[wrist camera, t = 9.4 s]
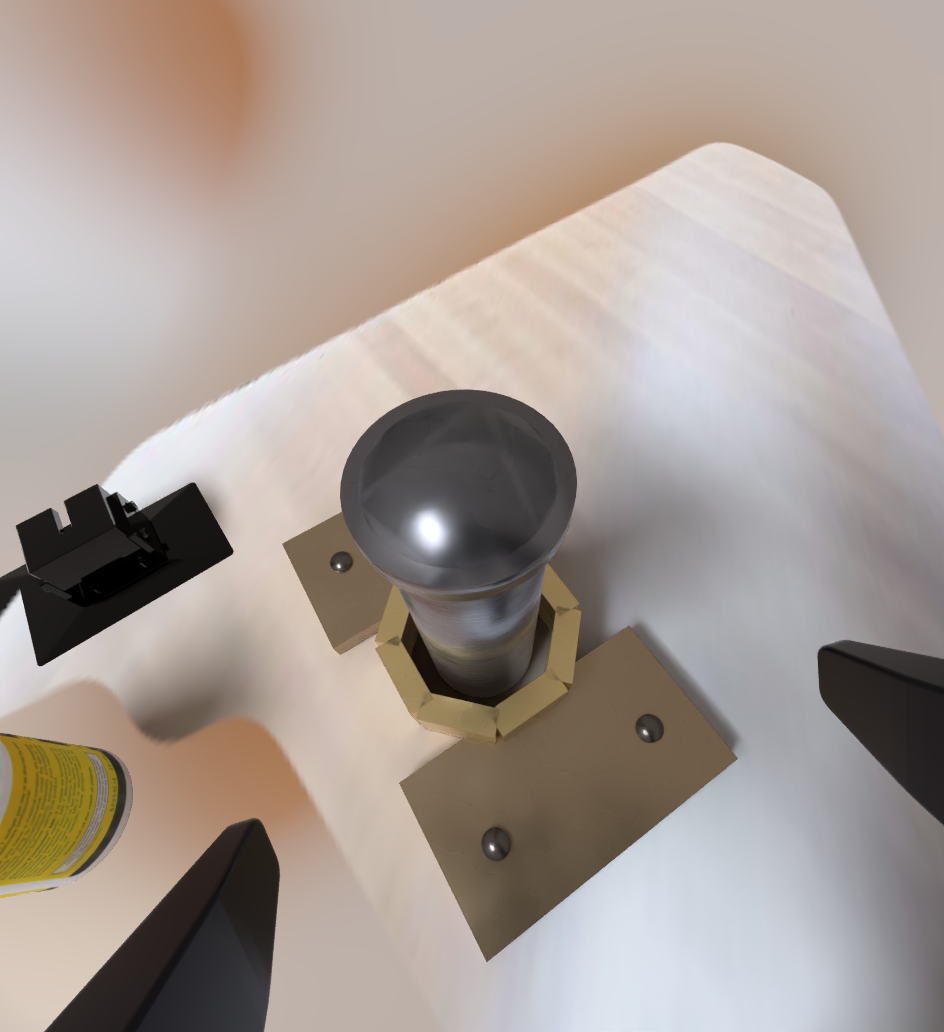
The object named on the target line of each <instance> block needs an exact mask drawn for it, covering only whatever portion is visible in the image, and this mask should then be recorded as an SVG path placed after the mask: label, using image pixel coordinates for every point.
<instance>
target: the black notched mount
mask: <svg viewBox="0 0 944 1032" xmlns="http://www.w3.org/2000/svg"><path fill="white" fill-rule="evenodd" d="M64 504H65V507H66V510H67V513H68V515H69V518H70V522H71V524H70V525H68V526H66V527H64V528H63V526H62V523H61V520H60V517H59V514H58V513H57V512H56V511H55V510H53V509H52V508H49V509H47V510H45V511H44V512H41V513H39V514H37V515H36V516H34V517H32V518H30V519H28V520H26V521H24V522H22V523H20V524H18V525H16V529H17V533H18V537H19V540H20V544H21V548H22V551H23V555H24V558H25V562H26V564H24V565H22V566H20V567H19V568H17V569H15V570H13V571H11V572H9V573H7V574H5V575H4V576H2V577H0V617H1V616H2V615H3V614H4V612H5V611H6V610H7V609H8V607H9V606H10V604H11V603H12V602H13V601H14V599H15V598H16V597H17V596H18V594H19V593H20V591H21V595H22V600H23V604H24V608H25V613H26V617H27V621H28V625H29V630H30V634H31V638H32V643H33V647H34V651H35V656H36V660H37V664H38V666H43V665H45V664H46V663H48V662H50V661H51V660H53V659H55V658H57V657H58V656H60V655H62V654H63V653H65V652H67V651H69V650H70V649H72V648H74V647H75V646H77V645H79V644H80V643H82V642H84V641H86V640H87V639H89V638H91V637H92V636H94V635H96V634H98V633H99V632H101V631H103V630H104V629H106V628H108V627H110V626H111V625H113V624H115V623H116V622H118V621H120V620H121V619H123V618H125V617H127V616H128V615H130V614H132V613H133V612H135V611H137V610H139V609H140V608H142V607H144V606H145V605H147V604H149V603H150V602H152V601H154V600H156V599H157V598H159V597H161V596H162V595H164V594H166V593H168V592H169V591H171V590H173V589H174V588H176V587H178V586H179V585H181V584H183V583H185V582H186V581H188V580H190V579H191V578H193V577H195V576H197V575H198V574H200V573H202V572H203V571H205V570H207V569H208V568H210V567H212V566H214V565H215V564H217V563H219V562H220V561H222V560H224V559H226V558H227V557H229V556H231V555H232V554H233V552H234V551H233V549H232V547H231V545H230V543H229V542H228V540H227V538H226V536H225V535H224V533H223V531H222V529H221V528H220V526H219V524H218V522H217V521H216V519H215V517H214V515H213V514H212V512H211V510H210V508H209V507H208V505H207V503H206V501H205V500H204V498H203V496H202V494H201V493H200V491H199V489H198V487H197V485H196V484H195V483H190V484H188V485H186V486H184V487H183V488H181V489H179V490H177V491H175V492H173V493H172V494H170V495H168V496H166V497H164V498H162V499H161V500H159V501H157V502H155V503H153V504H151V505H149V506H148V507H146V508H144V509H142V510H140V511H139V510H138V507H137V505H136V504H135V503H134V502H133V501H130V502H128V501H127V500H126V499H125V498H124V497H122V496H121V495H120V494H119V493H118V492H115V493H114V494H112V495H110V494H109V493H108V492H107V491H105V490H104V489H103V488H102V487H100V486H99V485H98V484H96V485H94V486H92V487H90V488H88V489H86V490H84V491H82V492H80V493H78V494H76V495H74V496H72V497H70V498H69V499H67V500H65V501H64Z"/></svg>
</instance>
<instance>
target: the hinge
mask: <svg viewBox="0 0 944 1032" xmlns="http://www.w3.org/2000/svg"><path fill="white" fill-rule="evenodd" d="M282 545H283V547H284V549H285V551H286V553H287V555H288V557H289V559H290V561H291V563H292V565H293V567H294V569H295V571H296V573H297V575H298V577H299V579H300V581H301V583H302V585H303V587H304V590H305V592H306V594H307V596H308V598H309V600H310V602H311V604H312V606H313V608H314V610H315V612H316V614H317V616H318V618H319V620H320V622H321V624H322V626H323V628H324V630H325V632H326V634H327V637H328V639H329V641H330V643H331V645H332V647H333V649H334V650H335V651H337V652H338V653H339V654H342V653H344V652H345V651H347V650H349V649H350V648H352V647H354V646H355V645H357V644H359V643H360V642H362V641H364V640H365V639H367V638H369V637H370V636H372V635H374V634H375V633H377V632H378V633H377V636H376V639H375V642H376V643H377V645H378V646H379V647H377V648H375V649H376V651H377V653H378V655H379V657H380V658H381V660H382V662H383V664H384V666H385V668H386V670H387V672H388V673H389V675H390V677H391V679H392V681H393V683H394V685H395V687H396V688H397V690H398V692H399V694H400V696H401V698H402V700H403V702H404V703H405V705H406V707H407V709H408V711H409V713H410V715H411V716H412V717H413V718H414V719H415V720H416V721H417V722H418V723H419V724H422V725H423V726H424V727H425V729H428V730H432V731H436V732H440V733H444V734H448V735H452V736H457V737H461V738H464V739H463V740H461V741H460V742H458V743H457V744H455V745H454V746H452V747H451V748H449V749H448V750H447V751H445V752H444V753H442V754H441V755H439V756H438V757H436V758H435V759H433V760H432V761H430V762H429V763H428V764H426V765H425V766H423V767H422V768H420V769H419V770H417V771H416V772H414V773H413V774H411V775H410V776H409V777H407V778H406V779H404V780H403V781H401V782H400V783H399V784H400V786H401V788H402V790H403V792H404V794H405V796H406V798H407V800H408V802H409V804H410V806H411V808H412V810H413V812H414V814H415V816H416V818H417V821H418V823H419V825H420V827H421V829H422V831H423V833H424V835H425V837H426V839H427V841H428V843H429V845H430V847H431V849H432V851H433V853H434V855H435V857H436V859H437V861H438V863H439V865H440V868H441V870H442V872H443V874H444V876H445V878H446V880H447V882H448V884H449V886H450V888H451V890H452V892H453V894H454V896H455V898H456V900H457V902H458V904H459V906H460V908H461V910H462V912H463V915H464V917H465V919H466V921H467V923H468V925H469V927H470V929H471V931H472V933H473V935H474V937H475V939H476V941H477V943H478V945H479V947H480V949H481V951H482V953H483V955H484V957H485V960H486V962H488V961H489V960H490V959H491V958H492V957H494V956H495V955H496V954H497V953H499V952H500V951H501V950H502V949H504V948H505V947H506V946H507V945H509V944H510V943H511V942H512V941H513V940H515V939H516V938H517V937H518V936H520V935H521V934H522V933H523V932H525V931H526V930H527V929H528V928H530V927H531V926H532V925H533V924H534V923H536V922H537V921H538V920H539V919H541V918H542V917H543V916H544V915H546V914H547V913H548V912H549V911H550V910H552V909H553V908H554V907H555V906H557V905H558V904H559V903H560V902H562V901H563V900H564V899H565V898H567V897H568V896H569V895H570V894H571V893H573V892H574V891H575V890H576V889H578V888H579V887H580V886H581V885H583V884H584V883H585V882H586V881H588V880H589V879H590V878H591V877H592V876H594V875H595V874H596V873H597V872H599V871H600V870H601V869H602V868H604V867H605V866H606V865H607V864H608V863H610V862H611V861H612V860H613V859H615V858H616V857H617V856H618V855H620V854H621V853H622V852H623V851H625V850H626V849H627V848H628V847H629V846H631V845H632V844H633V843H634V842H636V841H637V840H638V839H639V838H641V837H642V836H643V835H644V834H646V833H647V832H648V831H649V830H650V829H652V828H653V827H654V826H655V825H657V824H658V823H659V822H660V821H662V820H663V819H664V818H665V817H666V816H668V815H669V814H670V813H671V812H673V811H674V810H675V809H676V808H678V807H679V806H680V805H681V804H683V803H684V802H685V801H686V800H687V799H689V798H690V797H691V796H692V795H694V794H695V793H696V792H697V791H699V790H700V789H701V788H702V787H704V786H705V785H706V784H707V783H708V782H710V781H711V780H712V779H713V778H715V777H716V776H717V775H718V774H720V773H721V772H722V771H723V770H725V769H726V768H727V767H728V766H729V765H731V764H732V763H733V762H734V761H736V760H737V759H738V758H737V757H736V756H735V754H734V753H733V752H732V751H731V749H730V748H729V747H728V746H727V745H726V743H725V742H724V741H723V740H722V739H721V737H720V736H719V735H718V734H717V732H716V731H715V730H714V729H713V728H712V726H711V725H710V724H709V723H708V721H707V720H706V719H705V718H704V717H703V715H702V714H701V713H700V712H699V711H698V709H697V708H696V707H695V706H694V704H693V703H692V702H691V701H690V700H689V698H688V697H687V696H686V695H685V693H684V692H683V691H682V690H681V689H680V687H679V686H678V685H677V684H676V683H675V681H674V680H673V679H672V678H671V676H670V675H669V674H668V673H667V672H666V670H665V669H664V668H663V667H662V666H661V664H660V663H659V662H658V661H657V659H656V658H655V657H654V656H653V655H652V653H651V652H650V651H649V650H648V648H647V647H646V646H645V645H644V644H643V642H642V641H641V640H640V639H639V638H638V636H637V635H636V634H635V633H634V631H633V630H632V629H631V628H630V627H629V626H628V627H626V628H625V629H623V630H622V631H620V632H619V633H617V634H616V635H614V636H613V637H612V638H610V639H609V640H607V641H606V642H604V643H603V644H601V645H600V646H598V647H597V648H595V649H594V650H593V651H591V652H590V653H588V654H587V655H585V656H584V657H582V658H581V659H579V660H578V661H576V662H575V659H576V651H577V644H578V636H579V628H580V620H581V612H582V611H580V610H578V607H579V604H580V603H579V602H578V601H577V599H576V598H575V597H574V596H573V594H572V593H571V592H570V591H569V589H568V588H567V587H566V586H565V584H564V583H563V582H562V580H561V579H560V578H559V577H558V575H557V574H556V573H555V572H554V570H553V569H552V568H551V566H550V565H549V564H548V563H547V564H546V567H545V573H544V579H543V586H542V592H541V599H540V605H539V611H538V614H539V615H540V617H541V618H542V619H543V621H544V622H545V623H546V625H547V626H548V627H549V629H550V630H551V634H550V641H549V647H548V653H547V660H546V666H545V673H544V674H542V675H541V676H539V677H538V678H536V679H535V680H533V681H532V682H531V683H529V684H528V685H526V686H525V687H523V688H522V689H520V690H519V691H517V692H516V693H514V694H513V695H511V696H510V697H508V698H507V699H506V700H504V701H503V702H501V703H500V704H498V705H497V706H495V707H494V708H493V707H489V706H485V705H480V704H476V703H472V702H467V701H463V700H458V699H454V698H450V697H445V696H441V695H437V694H432V693H431V692H430V690H429V688H428V687H427V685H426V683H425V681H424V680H423V678H422V676H421V674H420V673H419V671H418V669H417V667H416V665H415V664H414V662H413V660H412V658H411V654H412V651H413V647H414V644H415V640H416V637H417V633H418V629H417V627H416V625H415V622H414V620H413V618H412V616H411V614H410V612H409V610H408V608H407V606H406V604H405V602H404V599H403V597H402V595H401V593H400V591H399V589H398V587H397V586H395V585H393V584H392V583H390V582H388V581H387V580H386V579H385V578H383V577H382V576H381V575H380V574H378V573H377V572H376V571H375V570H374V568H373V567H372V566H371V565H370V564H369V563H368V562H367V560H366V559H365V557H364V556H363V554H362V553H361V551H360V550H359V548H358V546H357V544H356V542H355V541H354V539H353V537H352V535H351V533H350V531H349V529H348V527H347V525H346V523H345V519H344V516H343V512H341V513H339V514H337V515H335V516H333V517H331V518H330V519H328V520H326V521H324V522H322V523H320V524H318V525H316V526H315V527H313V528H311V529H309V530H307V531H305V532H303V533H301V534H300V535H298V536H296V537H294V538H292V539H290V540H288V541H287V542H285V543H283V544H282Z"/></svg>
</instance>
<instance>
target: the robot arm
mask: <svg viewBox="0 0 944 1032" xmlns="http://www.w3.org/2000/svg"><path fill="white" fill-rule="evenodd" d="M818 674H819V689H820V694H821V697H822V699H823V701H824V702H825V704H826V705H827V706H828V708H829V709H830V710H831V711H832V712H833V713H834V714H835V715H836V716H837V717H838V719H839V720H840V721H841V722H842V723H843V724H844V725H845V726H846V727H847V728H848V729H849V730H850V731H851V733H852V734H853V735H854V736H855V737H856V738H857V739H858V740H859V741H860V742H861V743H862V744H863V746H864V747H865V748H866V749H867V750H868V751H869V752H870V753H871V754H872V755H873V756H874V757H875V759H876V760H877V761H878V762H879V763H880V764H881V765H882V766H883V767H884V768H885V769H886V770H887V771H888V773H889V774H890V775H891V776H892V777H893V778H894V779H895V780H896V781H897V782H898V783H899V784H900V785H901V786H902V787H903V788H904V789H905V790H906V791H907V792H908V793H909V794H910V795H911V796H912V797H913V798H914V799H915V800H916V801H917V802H918V803H919V804H920V805H921V806H922V807H924V808H925V809H926V810H927V811H928V812H929V813H930V814H931V815H932V816H933V817H934V818H936V819H937V820H938V821H939V822H940V823H941V824H942V825H943V826H944V659H941V658H936V657H931V656H926V655H921V654H916V653H910V652H905V651H900V650H895V649H890V648H885V647H880V646H875V645H870V644H865V643H860V642H855V641H850V640H841V641H838V642H834V643H831V644H828V645H824V646H822V647H821V648H820V649H819V651H818ZM279 880H280V869H279V863H278V860H277V856H276V854H275V852H274V849H273V847H272V844H271V842H270V840H269V837H268V835H267V833H266V830H265V828H264V825H263V824H262V822H261V821H260V820H259V819H256V818H251V819H248V820H245V821H241V822H239V823H235V824H233V825H230V826H228V827H227V828H226V829H225V830H224V831H223V832H222V833H221V835H220V836H219V837H218V838H217V839H216V840H215V841H214V842H213V843H212V845H211V846H210V847H209V848H208V849H207V850H206V851H205V852H204V854H203V855H202V856H201V857H200V858H199V859H198V860H197V861H196V862H195V864H194V865H193V866H192V867H191V868H190V869H189V870H188V872H186V874H185V875H184V876H183V877H182V878H181V879H180V880H179V881H178V883H177V884H176V885H175V886H174V887H173V888H172V889H171V891H170V892H169V893H168V894H167V895H166V896H165V897H164V898H163V899H162V900H161V902H160V903H159V904H158V905H157V906H156V907H155V908H154V909H153V911H152V912H151V913H150V914H149V915H148V916H147V917H146V919H145V920H144V921H143V922H142V923H141V924H140V925H139V926H138V927H137V928H136V930H135V931H134V932H133V933H132V934H131V935H130V936H129V938H128V939H127V940H126V941H125V942H124V943H123V944H122V945H121V947H119V949H118V950H117V951H116V952H115V953H114V954H113V955H112V956H111V958H110V959H109V960H108V961H107V962H106V963H105V965H103V967H102V968H101V969H100V970H99V971H98V972H97V973H96V974H95V976H94V977H93V978H92V979H91V980H90V981H89V982H88V983H87V985H86V986H85V987H84V988H83V989H82V990H81V991H80V992H79V994H77V996H76V997H75V998H74V999H73V1000H72V1001H71V1002H70V1004H69V1005H68V1006H67V1007H66V1008H65V1009H64V1010H63V1011H62V1012H61V1014H60V1015H59V1016H58V1017H57V1018H56V1019H55V1020H54V1021H53V1023H52V1024H51V1025H50V1026H49V1027H48V1028H47V1029H46V1030H45V1031H44V1032H264V1028H265V1022H266V1015H267V1009H268V1002H269V993H270V984H271V973H272V961H273V950H274V939H275V927H276V914H277V904H278V892H279Z"/></svg>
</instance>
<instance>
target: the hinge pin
mask: <svg viewBox="0 0 944 1032" xmlns="http://www.w3.org/2000/svg"><path fill="white" fill-rule="evenodd" d="M576 489H577V477H576V468H575V464H574V460H573V457H572V454H571V452H570V450H569V447H568V445H567V443H566V442H565V440H564V438H563V437H562V435H561V434H560V433H559V431H558V430H557V429H556V428H555V427H554V425H553V424H552V423H551V422H550V421H548V420H547V419H546V418H545V417H544V416H543V415H542V414H540V413H539V412H537V411H536V410H535V409H533V408H531V407H530V406H528V405H526V404H524V403H522V402H520V401H518V400H515V399H513V398H510V397H508V396H504V395H501V394H497V393H493V392H487V391H480V390H450V391H441V392H437V393H432V394H428V395H425V396H421V397H418V398H415V399H413V400H410V401H408V402H406V403H404V404H401V405H400V406H398V407H396V408H394V409H393V410H391V411H389V412H388V413H386V414H385V415H384V416H382V417H381V418H379V419H378V420H377V421H376V422H375V423H374V424H373V425H371V426H370V427H369V428H368V429H367V431H366V432H365V433H364V434H363V435H362V436H361V437H360V439H359V440H358V442H357V443H356V445H355V446H354V448H353V449H352V451H351V453H350V455H349V457H348V459H347V462H346V465H345V467H344V470H343V475H342V480H341V489H340V500H341V508H342V512H343V516H344V519H345V523H346V525H347V527H348V529H349V531H350V533H351V535H352V537H353V539H354V541H355V542H356V544H357V546H358V548H359V550H360V551H361V553H362V554H363V556H364V557H365V559H366V560H367V562H368V563H369V564H370V565H371V566H372V567H373V568H374V570H375V571H376V572H377V573H378V574H380V575H381V576H382V577H383V578H385V579H386V580H387V581H388V582H390V583H392V584H393V585H395V586H397V587H398V589H399V591H400V593H401V595H402V597H403V599H404V602H405V604H406V606H407V608H408V610H409V612H410V614H411V616H412V618H413V620H414V622H415V625H416V627H417V629H418V631H419V633H420V635H421V637H422V639H423V641H424V643H425V645H426V648H427V650H428V652H429V654H430V656H431V658H432V660H433V662H434V664H435V666H436V668H437V670H438V672H439V674H440V675H441V677H442V678H443V680H444V681H445V682H446V683H447V684H448V685H449V686H451V687H452V688H453V689H455V690H456V691H458V692H460V693H463V694H465V695H468V696H473V697H491V696H495V695H499V694H501V693H503V692H505V691H507V690H509V689H510V688H512V687H513V686H514V685H516V684H517V682H518V681H519V680H520V679H521V678H522V677H523V675H524V674H525V672H526V670H527V668H528V666H529V663H530V660H531V656H532V649H533V643H534V637H535V630H536V624H537V618H538V611H539V605H540V599H541V592H542V586H543V579H544V573H545V567H546V564H547V563H548V562H549V561H550V560H551V559H552V557H553V556H554V555H555V554H556V552H557V551H558V549H559V547H560V546H561V544H562V542H563V540H564V538H565V536H566V533H567V531H568V528H569V525H570V520H571V516H572V512H573V507H574V502H575V498H576Z"/></svg>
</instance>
